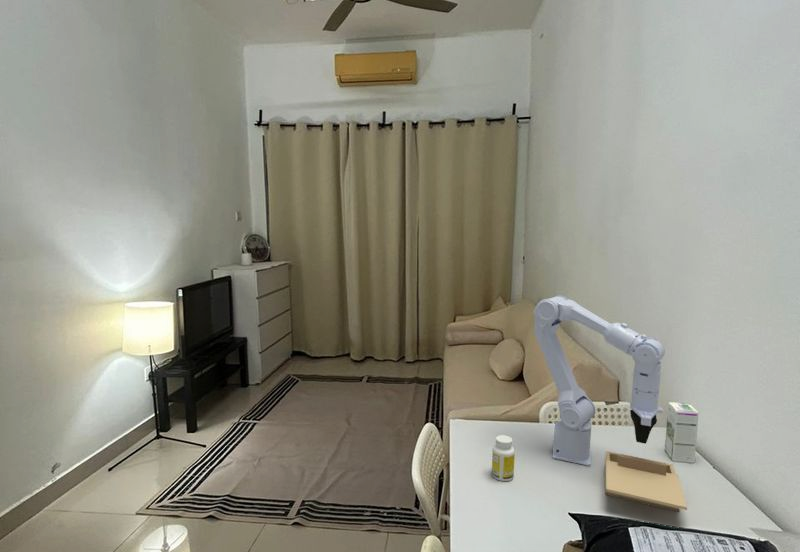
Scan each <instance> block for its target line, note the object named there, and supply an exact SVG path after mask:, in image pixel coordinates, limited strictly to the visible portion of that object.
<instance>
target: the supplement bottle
mask: <svg viewBox="0 0 800 552" xmlns="http://www.w3.org/2000/svg"><path fill="white" fill-rule="evenodd" d="M515 451H516V450H515V448H514V446H513V438H512V437H510V436H508V435H503V434H500V435H498V436H496V437H495V444H494V446H493V447H492V456H491V458H492V459H491V461H492V462H491V475H492V477H493V478H494V479H496V480H498V481H502V482H509V481H512V480H513V479H514V474H515V455H516V454H515V453H516V452H515Z"/></svg>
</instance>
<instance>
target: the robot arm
mask: <svg viewBox="0 0 800 552" xmlns="http://www.w3.org/2000/svg"><path fill="white" fill-rule="evenodd" d="M532 313H533V315H534V328H533V332H534V335H535V338H536V341H537V343H538V345H539V349H540V350H541V353H542V355H543V357H544V359H545V362H546V364H547V366H548V370H549V371H550V374H551V377H552V380H553V381H554V383H555V384H554V385H555V386H556V390H557V391H558V394H559V395H558V399H557V405H558V408H559V419H560V420H559V421H558V420H556V421H555V422H554V430H553V440H552V446H551V447H552V448H553V449H552V457H551V458H552V459H555V460H560V461H565V462H570V463H573V464H574V463H575V464H579V465H584V466H588V467H589V466H591V463H592V462H591V461H592V460H591V459H592V451H591V450H590V449H591V436H592V423H591V419H592V418H594V416H595V414H596V407H595V404H594V402H593V401H592V400H591V399H590V397H588V395H587V393H586V391H585V390H584V389H582V388H581V387H579V384H578V382H577V380H576V377H575V375H574V374H573V370H572V369H571V368H572V367H571V366H570V363H569V361H568V358H567V356H566V354H565V352H564V349H563V347H562V345H561V342H560V340H559V337H558V335H557V331H558V329H559V327H560V325H561V323H562V322H564V321H575V322H577V323H579V324H581V325H582V326H585V327H587V328H589V329H591V330H593V331H594V332H597V333H599V334H601V335H602V336H603V339H604V341H605V342H606V343H607V344H609V345H611V346H613V347H614V348H616V349H618V350H620V351H622V352H623V353H625V354H626V355H629V356H631V357H632V360H633V361H634V368H633V374H632V387H631V399H630V400H631V401H630V403H629V408H630V410H629V413H630V418H631V421H632V422H633V427H634V434H635V436H634V437H635V441H636V443H640V444H644V445H645V444H647V442H648V440H649V436H650V434H651V432H652V429H653V428H654V426H655V425H657V422H658V419H657V414H658V413H660V414H663V413H664V409H663V407H661V406H658V405H659V398H660V397H659V396H660V395H659V393H660V383H661V369H662V367H661V366H662V362H661V360H663V358H664V357H665V353H666V349H665V346H664V345H663V344H662V342H661V341H660V340H658V339H657V338H656V337H647V335H646V334H644V333H642V334H641V333H639V332H636V331H634V330H633V329H631V328H629V327H628V326H629V324H627V323H625V322H622V323H620V322H613V323H610V322H609V321H606V320H605V319H604V318H601V317H600V316H598V315H597V314H595V313H593V312H591V311H590V310H588V309H587V308H585V307H583V306H582V305H580V304H578V303H577V301H575V300H572V299H569V298H568V297H566V296H564V295H555V296H554V297H550V298H545V299H541V300H539V301H538V302H537V304H536V306H535V308H534V309H533V311H532Z"/></svg>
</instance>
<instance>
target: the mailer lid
mask: <svg viewBox="0 0 800 552" xmlns="http://www.w3.org/2000/svg"><path fill="white" fill-rule="evenodd" d="M621 454H622V453H619V455H618V462H613V461H608V460H606V459H605V460H606V491H607V492H611V493H616V494H620V495H624V496H628V497H633V498H637V499H641V500H646V501H650V502H654V503H658V504H663V505H667V506H671V507H676V508H680V509H681V510H685V511H687V510H688V506H687V501H686V499H685V495H684V492H683V489H682V488H683V487H682V485H681V482H680V478H679V475H678V474H676V473H675V474H676V475H675V474H671V473H666V468H667V465H666V462H664V463H661V462H662V461H659V462H656V461H657V460H654V461H651V460H652V459H649V460H646V459H647V458H644V459H641V458H642V457H639V458H636V457H637V456H634V457H631V456H632V455H629V456H626V455H627V454H624V455H621ZM680 509H679V510H680Z"/></svg>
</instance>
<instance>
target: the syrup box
mask: <svg viewBox="0 0 800 552" xmlns="http://www.w3.org/2000/svg"><path fill="white" fill-rule="evenodd" d="M667 405H668V406H667V414H666V415H667V416H666V417H667V418H666V429H665V440H664V441H665V442H664V443H665V444H664V452H665V454H666V455H667V456H668V457H669V458H670V459H671V461H672V462H677V463H689V464H695V463H696V462H695V461H696V452H697V451H696V450H697V449H696V448H697V437H698V436H697V435H698V426H699V425H698V423H699V413H700V412H699V411H698V410H697V409H696V408H694V407H693V405H691V404H690V403H686V402H670V401H669V402H668V404H667Z"/></svg>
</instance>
